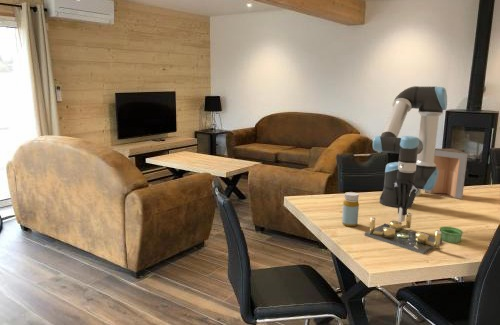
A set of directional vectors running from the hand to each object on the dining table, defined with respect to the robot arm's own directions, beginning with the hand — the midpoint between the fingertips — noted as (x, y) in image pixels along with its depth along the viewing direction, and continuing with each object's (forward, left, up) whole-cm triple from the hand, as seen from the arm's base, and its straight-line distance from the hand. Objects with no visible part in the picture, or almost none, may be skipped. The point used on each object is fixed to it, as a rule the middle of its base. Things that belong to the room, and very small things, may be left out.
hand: (401, 221), depth 180 cm
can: (-24, +64, -4) cm, 68 cm away
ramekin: (+20, +4, -4) cm, 21 cm away
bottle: (-19, -13, -4) cm, 23 cm away
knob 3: (+17, -12, -2) cm, 21 cm away
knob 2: (+2, -4, -2) cm, 5 cm away
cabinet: (-10, +78, -4) cm, 78 cm away
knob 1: (0, -17, -2) cm, 17 cm away
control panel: (+6, -11, -4) cm, 13 cm away
